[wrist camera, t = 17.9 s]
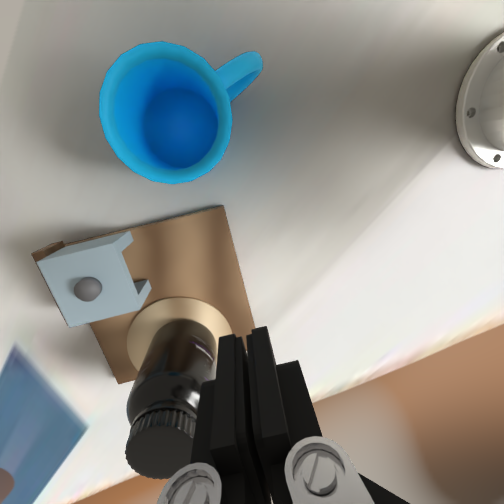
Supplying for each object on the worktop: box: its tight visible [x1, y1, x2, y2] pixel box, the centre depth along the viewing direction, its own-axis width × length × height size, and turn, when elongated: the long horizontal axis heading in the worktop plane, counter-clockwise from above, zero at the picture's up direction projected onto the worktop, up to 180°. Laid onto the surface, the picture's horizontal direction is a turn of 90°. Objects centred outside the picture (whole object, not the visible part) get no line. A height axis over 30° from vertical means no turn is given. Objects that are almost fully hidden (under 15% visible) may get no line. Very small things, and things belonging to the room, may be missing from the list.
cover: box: [37, 231, 152, 328], centre depth 25 cm, size 6×6×5 cm
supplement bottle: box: [125, 319, 217, 479], centre depth 25 cm, size 7×7×12 cm
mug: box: [99, 41, 263, 184], centre depth 22 cm, size 12×8×8 cm
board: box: [32, 205, 255, 384], centre depth 29 cm, size 16×19×4 cm
